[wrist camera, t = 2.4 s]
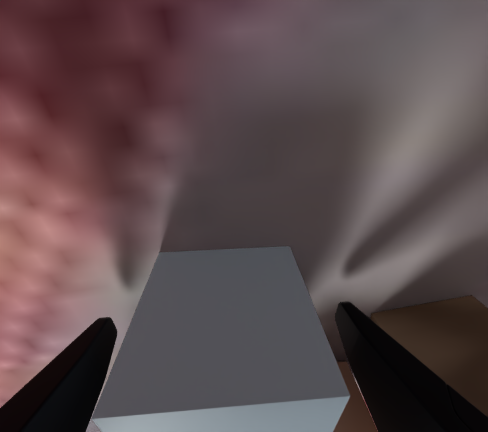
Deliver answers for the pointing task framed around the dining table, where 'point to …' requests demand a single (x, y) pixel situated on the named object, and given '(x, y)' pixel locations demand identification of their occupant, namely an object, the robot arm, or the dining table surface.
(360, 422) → the terracotta block
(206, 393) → the grey cube
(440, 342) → the walnut block
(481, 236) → the dining table surface
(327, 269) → the dining table surface
